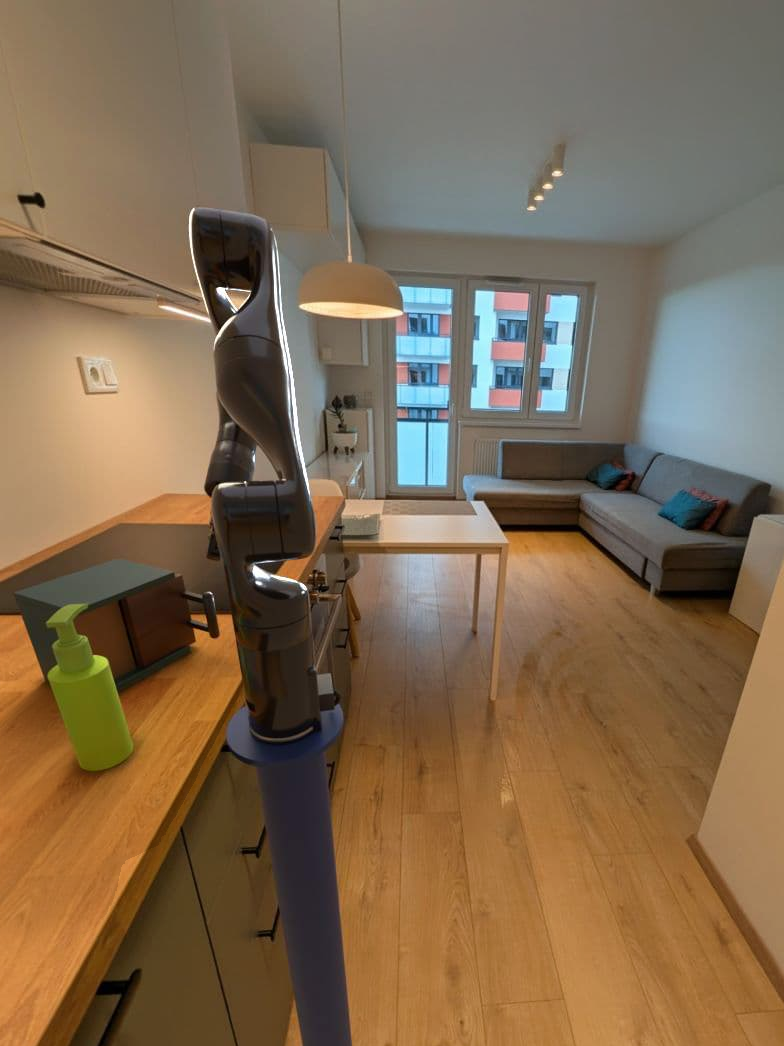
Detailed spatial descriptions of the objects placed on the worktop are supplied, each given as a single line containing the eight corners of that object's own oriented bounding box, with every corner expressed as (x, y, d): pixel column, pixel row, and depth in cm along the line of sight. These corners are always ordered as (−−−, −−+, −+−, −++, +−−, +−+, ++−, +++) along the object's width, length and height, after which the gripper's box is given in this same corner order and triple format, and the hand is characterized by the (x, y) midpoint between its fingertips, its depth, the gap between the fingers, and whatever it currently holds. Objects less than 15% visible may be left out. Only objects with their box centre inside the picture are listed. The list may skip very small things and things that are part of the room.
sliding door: (224, 649, 87) (212, 581, 82) (173, 679, 79) (156, 605, 73) (191, 639, 90) (176, 572, 85) (138, 667, 82) (118, 595, 76)
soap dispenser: (143, 732, 69) (105, 599, 60) (122, 768, 63) (77, 626, 54) (95, 735, 68) (50, 601, 59) (69, 773, 62) (15, 629, 53)
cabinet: (191, 652, 88) (174, 571, 81) (101, 702, 74) (72, 611, 68) (138, 635, 92) (118, 558, 86) (44, 680, 79) (12, 592, 72)
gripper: (260, 460, 89) (243, 549, 82) (245, 496, 99) (230, 576, 93) (213, 446, 85) (193, 537, 79) (203, 484, 96) (185, 567, 89)
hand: (213, 558), depth 86 cm, fingers closed
